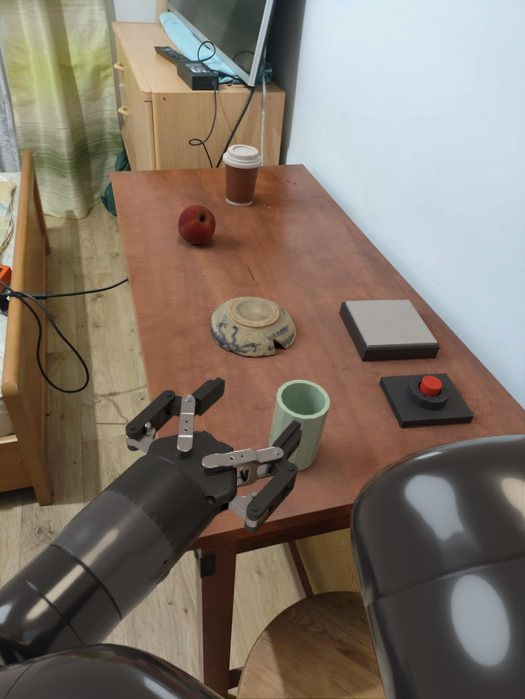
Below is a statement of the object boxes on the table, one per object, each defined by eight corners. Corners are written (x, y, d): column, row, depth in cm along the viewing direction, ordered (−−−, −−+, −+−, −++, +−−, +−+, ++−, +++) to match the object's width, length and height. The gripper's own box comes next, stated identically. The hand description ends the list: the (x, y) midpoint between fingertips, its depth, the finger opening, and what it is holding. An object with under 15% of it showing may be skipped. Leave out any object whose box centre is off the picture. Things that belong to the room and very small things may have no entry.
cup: (308, 430, 70) (322, 378, 63) (320, 469, 65) (336, 416, 58) (263, 434, 68) (272, 381, 62) (272, 473, 64) (283, 420, 57)
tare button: (433, 382, 76) (437, 375, 75) (441, 396, 74) (445, 388, 73) (416, 383, 75) (419, 376, 74) (424, 397, 73) (427, 389, 72)
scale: (405, 311, 94) (410, 297, 92) (435, 358, 85) (441, 344, 83) (339, 312, 91) (342, 299, 90) (362, 361, 82) (366, 347, 80)
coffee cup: (225, 189, 126) (228, 140, 119) (261, 196, 126) (266, 146, 118) (216, 204, 119) (218, 153, 112) (253, 211, 119) (259, 160, 111)
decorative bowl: (241, 292, 93) (188, 329, 83) (243, 274, 91) (188, 311, 81) (311, 326, 88) (263, 371, 78) (315, 309, 86) (266, 353, 75)
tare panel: (443, 379, 81) (450, 365, 79) (470, 422, 74) (478, 408, 72) (378, 382, 78) (383, 368, 76) (400, 427, 72) (406, 413, 70)
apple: (184, 253, 101) (184, 216, 96) (173, 234, 107) (172, 198, 101) (219, 248, 104) (221, 212, 99) (206, 230, 109) (207, 195, 104)
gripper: (212, 566, 32) (332, 414, 43) (57, 451, 37) (199, 342, 48) (208, 616, 37) (317, 468, 47) (71, 508, 42) (197, 397, 53)
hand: (257, 405), depth 48 cm, fingers open, 8 cm apart
